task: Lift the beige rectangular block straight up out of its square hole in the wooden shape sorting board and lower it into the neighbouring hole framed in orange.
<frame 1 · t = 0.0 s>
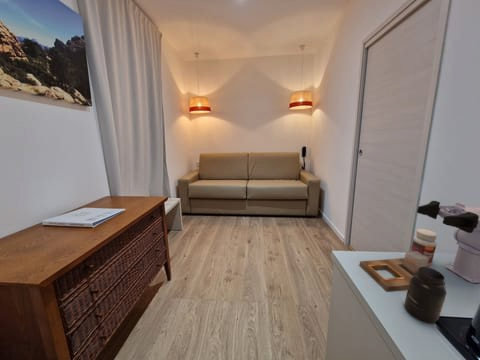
hand: (430, 214, 61), 22 cm above the table, tool horizontal, fingers open, 7 cm apart
beige rectangular block: (412, 274, 69), resting in wooden shape sorting board
supplement bottle: (420, 313, 54), on the table
wooden shape sorting board: (398, 275, 68), on the table
pill bottle: (419, 261, 76), on the table
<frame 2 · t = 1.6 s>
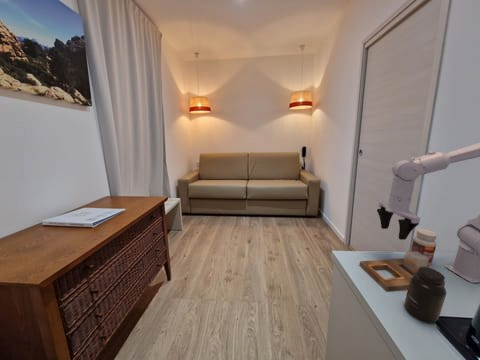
hand: (392, 233, 74), 10 cm above the table, tool pointing down, fingers open, 7 cm apart
nothing on the table moved.
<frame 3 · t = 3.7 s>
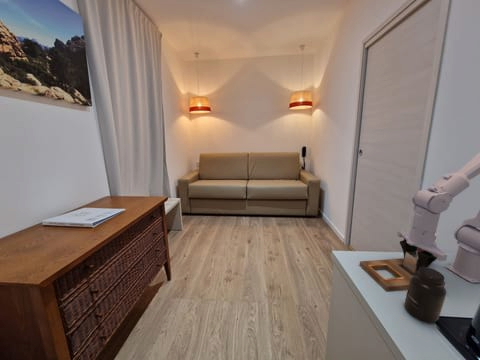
hand: (414, 267, 68), 3 cm above the table, tool pointing down, fingers closed on beige rectangular block, 4 cm apart
beige rectangular block: (412, 274, 69), resting in wooden shape sorting board, touching gripper
everything else where it was.
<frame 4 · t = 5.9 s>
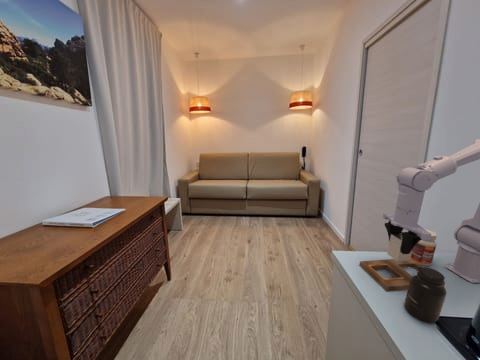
hand: (399, 249, 66), 10 cm above the table, tool pointing down, fingers closed on beige rectangular block, 4 cm apart
beige rectangular block: (397, 257, 66), point 7 cm above the table, touching gripper
everything else where it was.
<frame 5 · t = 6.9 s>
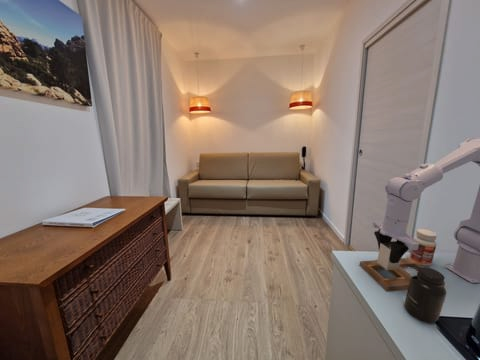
hand: (388, 257, 66), 7 cm above the table, tool pointing down, fingers closed on beige rectangular block, 4 cm apart
beige rectangular block: (387, 265, 67), point 4 cm above the table, touching gripper
everything else where it was.
when the fingers open (4 cm above the table, at t = 8.0 s): beige rectangular block stays where it is, resting in wooden shape sorting board.
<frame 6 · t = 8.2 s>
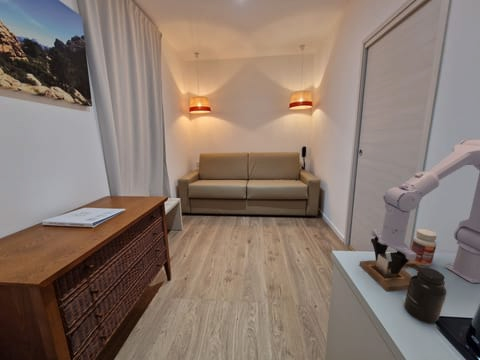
hand: (386, 266, 67), 4 cm above the table, tool pointing down, fingers open, 6 cm apart
beige rectangular block: (385, 276, 68), resting in wooden shape sorting board
everything else where it was.
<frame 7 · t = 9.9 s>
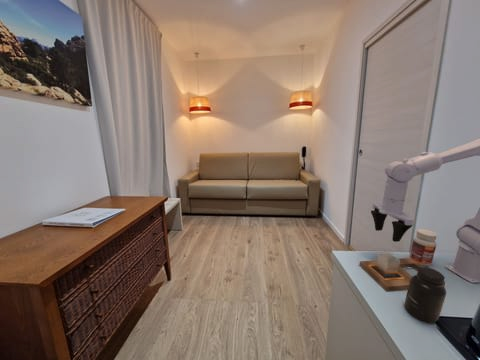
hand: (386, 235, 73), 10 cm above the table, tool pointing down, fingers open, 7 cm apart
nothing on the table moved.
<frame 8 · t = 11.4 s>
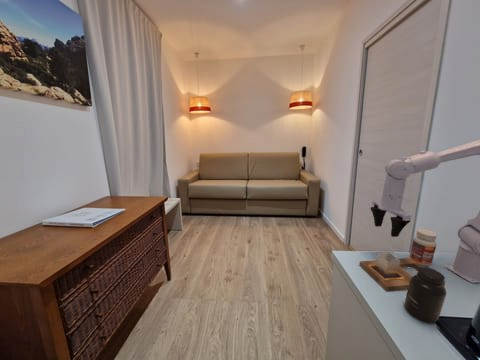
hand: (385, 230, 76), 10 cm above the table, tool pointing down, fingers open, 7 cm apart
nothing on the table moved.
at the end: beige rectangular block 0.2 cm from the target spot on the wooden shape sorting board, point 0.0 cm above the wooden shape sorting board's base; beige rectangular block tilted 0°; the gripper is holding nothing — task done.
